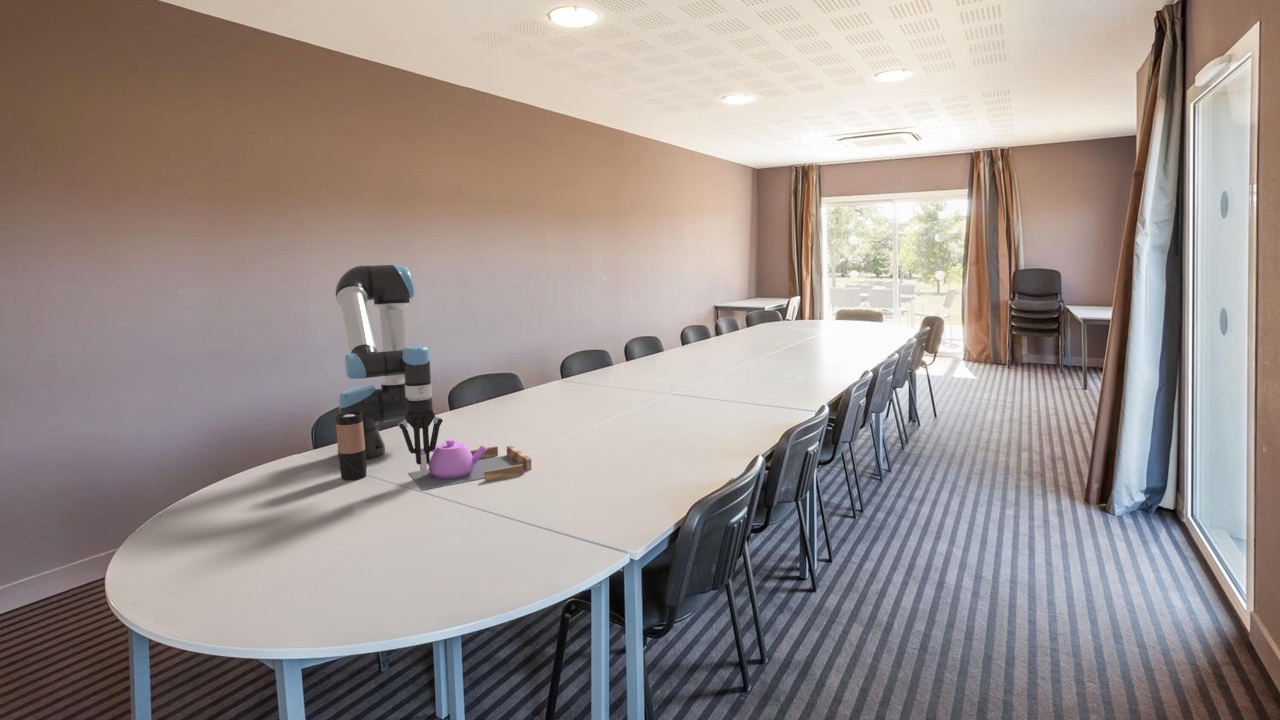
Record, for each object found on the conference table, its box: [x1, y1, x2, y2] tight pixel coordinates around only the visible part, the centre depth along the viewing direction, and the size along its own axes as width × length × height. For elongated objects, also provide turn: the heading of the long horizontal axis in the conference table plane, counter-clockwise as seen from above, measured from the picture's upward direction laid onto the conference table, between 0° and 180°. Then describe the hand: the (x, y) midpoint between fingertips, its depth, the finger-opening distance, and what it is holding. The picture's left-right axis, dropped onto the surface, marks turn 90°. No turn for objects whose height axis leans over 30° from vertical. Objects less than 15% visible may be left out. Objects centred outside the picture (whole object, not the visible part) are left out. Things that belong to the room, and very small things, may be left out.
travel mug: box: [335, 412, 367, 482], centre depth 198 cm, size 8×8×20 cm
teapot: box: [421, 438, 487, 479], centre depth 201 cm, size 14×20×11 cm
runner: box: [408, 454, 531, 491], centre depth 204 cm, size 18×34×1 cm, turn 122°
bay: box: [469, 444, 533, 483], centre depth 209 cm, size 24×16×4 cm, turn 32°
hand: (423, 473), depth 196 cm, fingers closed
